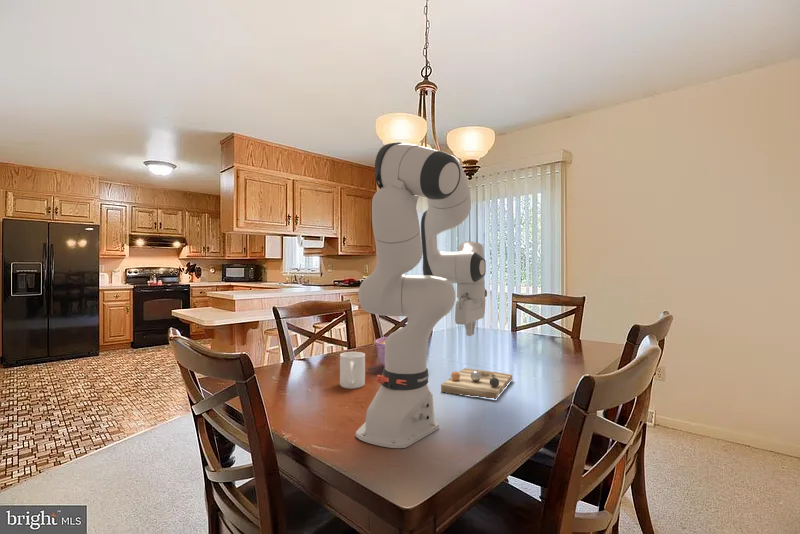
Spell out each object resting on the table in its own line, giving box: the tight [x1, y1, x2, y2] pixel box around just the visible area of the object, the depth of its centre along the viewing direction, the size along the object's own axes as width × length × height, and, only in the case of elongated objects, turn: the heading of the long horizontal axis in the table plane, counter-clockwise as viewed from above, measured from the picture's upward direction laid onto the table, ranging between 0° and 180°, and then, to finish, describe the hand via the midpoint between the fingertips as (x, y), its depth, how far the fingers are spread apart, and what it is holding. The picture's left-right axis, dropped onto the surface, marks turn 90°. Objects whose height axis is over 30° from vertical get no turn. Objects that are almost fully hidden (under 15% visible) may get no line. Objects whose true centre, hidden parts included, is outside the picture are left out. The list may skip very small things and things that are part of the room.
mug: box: [339, 351, 366, 390], centre depth 136 cm, size 9×12×11 cm
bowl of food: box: [375, 336, 388, 367], centre depth 159 cm, size 20×20×12 cm
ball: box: [471, 371, 481, 382], centre depth 134 cm, size 4×4×4 cm
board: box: [440, 367, 513, 399], centre depth 137 cm, size 24×18×2 cm
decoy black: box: [490, 377, 499, 387], centre depth 128 cm, size 3×3×3 cm
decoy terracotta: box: [450, 370, 460, 380], centre depth 135 cm, size 3×3×3 cm
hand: (470, 335), depth 128 cm, fingers closed
